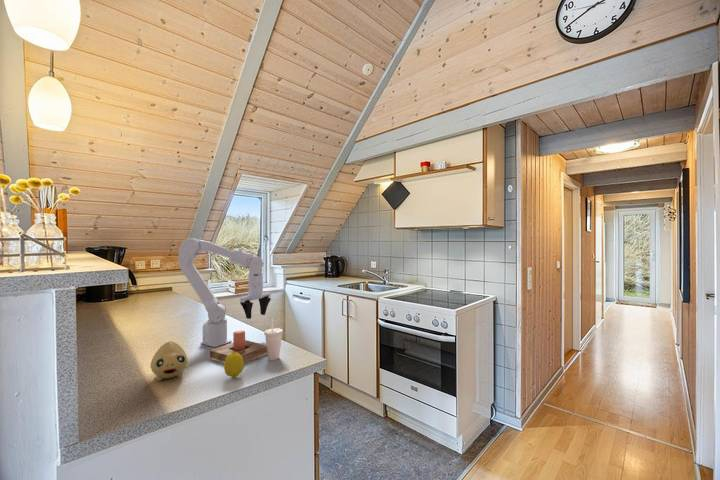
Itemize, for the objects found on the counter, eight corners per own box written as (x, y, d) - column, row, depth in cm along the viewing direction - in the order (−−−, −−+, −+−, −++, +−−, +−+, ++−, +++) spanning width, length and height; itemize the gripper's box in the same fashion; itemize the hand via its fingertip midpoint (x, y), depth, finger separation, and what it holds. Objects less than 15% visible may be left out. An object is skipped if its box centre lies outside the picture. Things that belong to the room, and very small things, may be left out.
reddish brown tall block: (231, 355, 116) (230, 332, 116) (239, 351, 119) (239, 330, 119) (238, 357, 114) (238, 334, 114) (247, 353, 118) (247, 331, 118)
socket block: (209, 358, 114) (209, 350, 114) (242, 347, 126) (242, 339, 126) (235, 366, 107) (235, 357, 107) (268, 353, 119) (268, 345, 119)
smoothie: (260, 359, 113) (260, 319, 113) (273, 353, 119) (272, 315, 119) (274, 362, 110) (274, 321, 110) (286, 356, 116) (286, 317, 116)
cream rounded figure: (150, 390, 91) (149, 352, 91) (150, 375, 101) (150, 341, 101) (189, 381, 96) (189, 345, 96) (186, 368, 106) (186, 335, 106)
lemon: (232, 383, 95) (231, 356, 94) (220, 379, 97) (220, 352, 97) (247, 376, 99) (247, 350, 99) (236, 372, 102) (235, 347, 102)
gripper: (248, 287, 129) (248, 321, 129) (275, 282, 141) (275, 314, 141) (236, 286, 132) (236, 319, 132) (263, 281, 145) (264, 312, 145)
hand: (256, 316), depth 137 cm, fingers open, 7 cm apart
